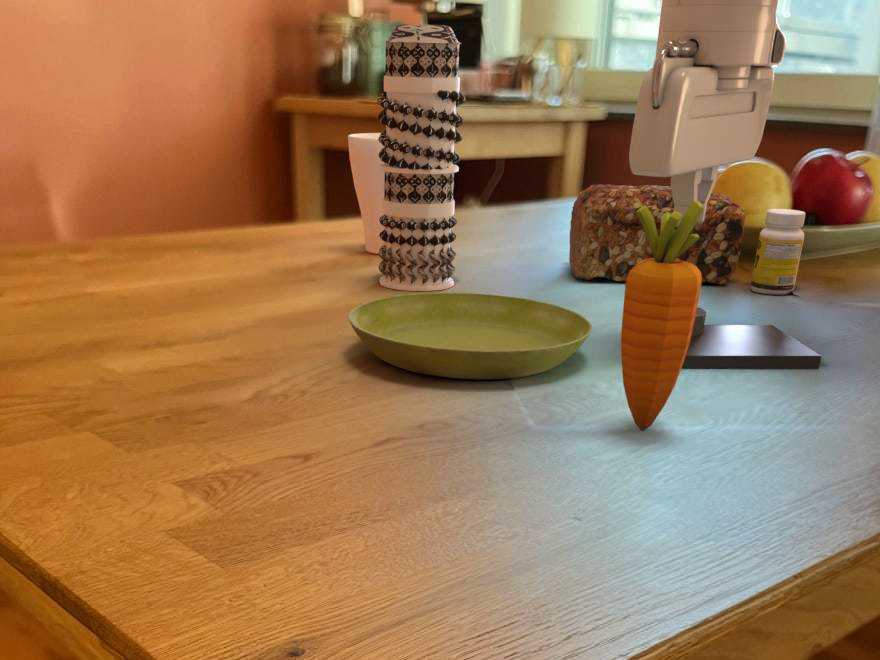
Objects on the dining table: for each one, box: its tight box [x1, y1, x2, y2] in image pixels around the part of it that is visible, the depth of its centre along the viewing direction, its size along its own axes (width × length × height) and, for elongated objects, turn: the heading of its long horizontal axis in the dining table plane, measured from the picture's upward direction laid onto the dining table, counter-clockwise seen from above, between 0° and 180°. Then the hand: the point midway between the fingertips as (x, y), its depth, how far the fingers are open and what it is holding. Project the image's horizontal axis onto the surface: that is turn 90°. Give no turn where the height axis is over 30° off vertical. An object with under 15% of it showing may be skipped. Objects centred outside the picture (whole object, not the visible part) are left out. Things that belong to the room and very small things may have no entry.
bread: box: [568, 183, 746, 285], centre depth 118 cm, size 19×11×10 cm, turn 88°
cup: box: [347, 132, 385, 255], centre depth 129 cm, size 10×10×14 cm
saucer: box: [347, 292, 593, 381], centre depth 87 cm, size 21×21×3 cm
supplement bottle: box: [750, 208, 806, 296], centre depth 113 cm, size 5×5×8 cm
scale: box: [681, 306, 823, 370], centre depth 90 cm, size 14×12×3 cm
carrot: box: [620, 201, 704, 432], centre depth 68 cm, size 5×5×15 cm
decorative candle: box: [376, 23, 467, 292], centre depth 108 cm, size 9×9×25 cm
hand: (687, 225), depth 88 cm, fingers closed
